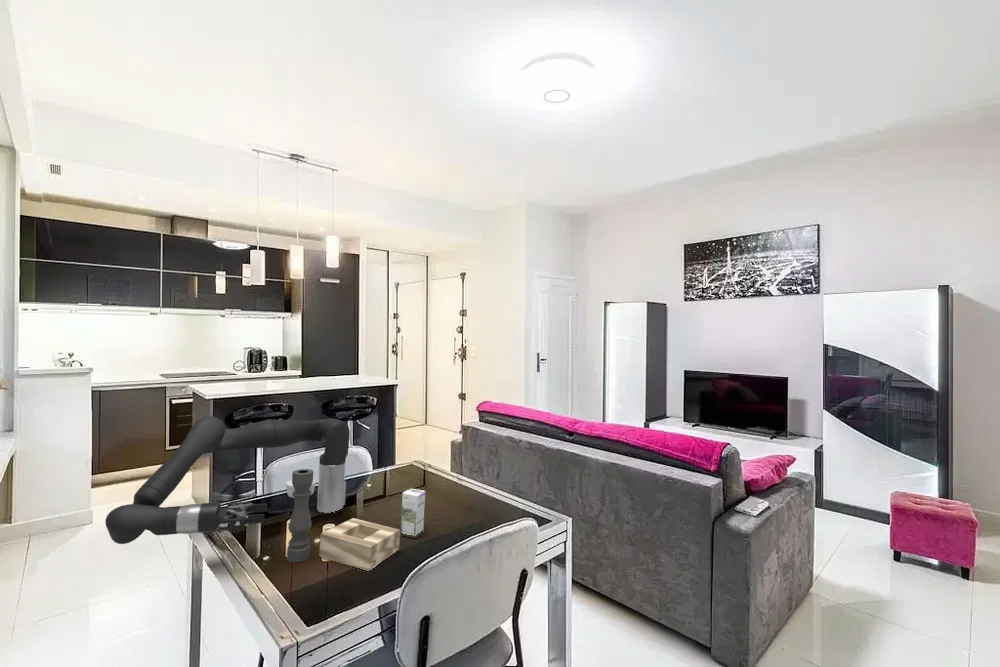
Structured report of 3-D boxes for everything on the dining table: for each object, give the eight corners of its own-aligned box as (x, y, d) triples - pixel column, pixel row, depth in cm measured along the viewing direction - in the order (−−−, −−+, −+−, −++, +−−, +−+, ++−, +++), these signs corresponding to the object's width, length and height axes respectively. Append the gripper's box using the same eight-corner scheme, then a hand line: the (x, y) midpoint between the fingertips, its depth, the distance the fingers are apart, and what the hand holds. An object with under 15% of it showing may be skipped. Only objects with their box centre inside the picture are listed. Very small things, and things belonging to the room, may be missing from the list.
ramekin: (280, 494, 190) (280, 481, 190) (306, 488, 199) (307, 476, 199) (293, 501, 183) (294, 487, 183) (320, 495, 191) (321, 482, 191)
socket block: (351, 540, 151) (353, 518, 151) (398, 552, 144) (400, 529, 144) (319, 557, 138) (320, 533, 139) (368, 572, 131) (370, 547, 131)
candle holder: (291, 552, 141) (295, 468, 141) (312, 553, 141) (317, 469, 141) (283, 562, 134) (288, 474, 135) (305, 563, 135) (310, 475, 135)
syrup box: (423, 533, 160) (426, 489, 160) (415, 539, 154) (417, 495, 154) (408, 530, 161) (411, 487, 162) (399, 536, 156) (402, 492, 156)
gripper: (193, 513, 122) (264, 508, 128) (205, 495, 135) (268, 491, 141) (192, 542, 122) (262, 536, 128) (204, 522, 135) (267, 516, 141)
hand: (265, 512), depth 135 cm, fingers open, 8 cm apart
